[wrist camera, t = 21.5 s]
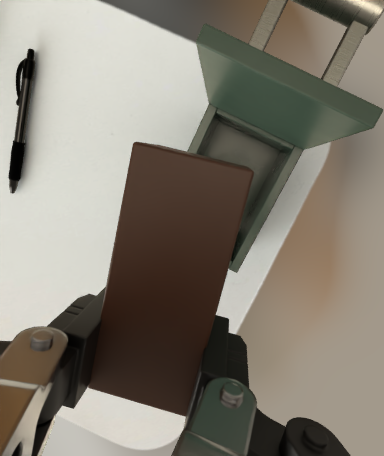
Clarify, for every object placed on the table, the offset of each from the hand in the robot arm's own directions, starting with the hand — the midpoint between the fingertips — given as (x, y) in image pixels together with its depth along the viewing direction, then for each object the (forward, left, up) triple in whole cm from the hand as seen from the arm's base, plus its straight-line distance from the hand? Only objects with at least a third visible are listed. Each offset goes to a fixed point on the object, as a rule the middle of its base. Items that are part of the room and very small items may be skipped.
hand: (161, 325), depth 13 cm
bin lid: (+6, -7, -9) cm, 13 cm away
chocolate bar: (+2, -2, 0) cm, 3 cm away
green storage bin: (+2, -3, -23) cm, 23 cm away
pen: (+17, +13, -23) cm, 31 cm away
